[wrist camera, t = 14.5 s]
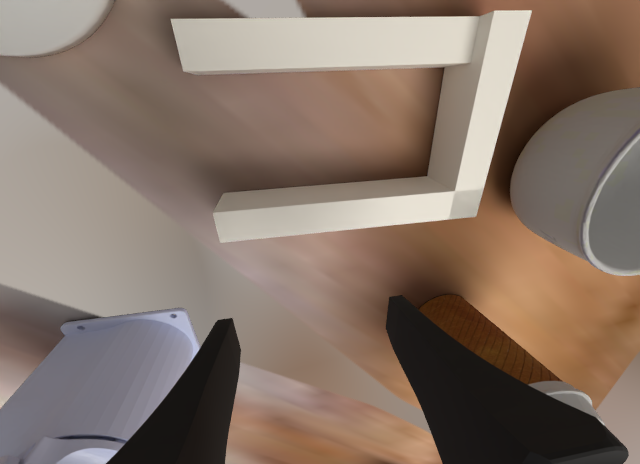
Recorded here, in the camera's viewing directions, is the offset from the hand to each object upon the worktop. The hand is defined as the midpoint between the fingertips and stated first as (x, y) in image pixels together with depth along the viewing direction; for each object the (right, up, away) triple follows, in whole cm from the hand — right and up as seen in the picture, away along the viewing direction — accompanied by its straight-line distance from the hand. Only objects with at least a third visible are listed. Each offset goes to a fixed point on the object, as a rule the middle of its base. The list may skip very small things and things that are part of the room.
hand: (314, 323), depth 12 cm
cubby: (+2, +11, +5) cm, 12 cm away
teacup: (+20, +10, +9) cm, 24 cm away
